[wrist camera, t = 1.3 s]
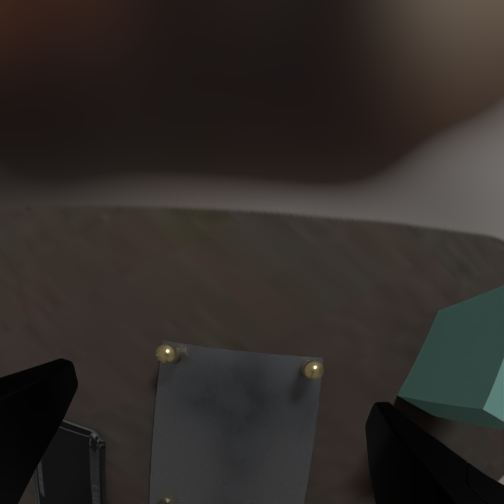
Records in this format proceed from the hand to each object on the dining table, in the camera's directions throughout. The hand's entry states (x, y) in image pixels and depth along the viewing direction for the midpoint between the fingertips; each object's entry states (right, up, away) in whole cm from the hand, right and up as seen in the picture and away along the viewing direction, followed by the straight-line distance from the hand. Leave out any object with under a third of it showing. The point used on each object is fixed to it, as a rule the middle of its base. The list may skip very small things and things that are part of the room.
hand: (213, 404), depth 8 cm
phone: (-15, -17, +10) cm, 25 cm away
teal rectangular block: (+16, -5, +14) cm, 22 cm away
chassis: (0, -10, +12) cm, 16 cm away
